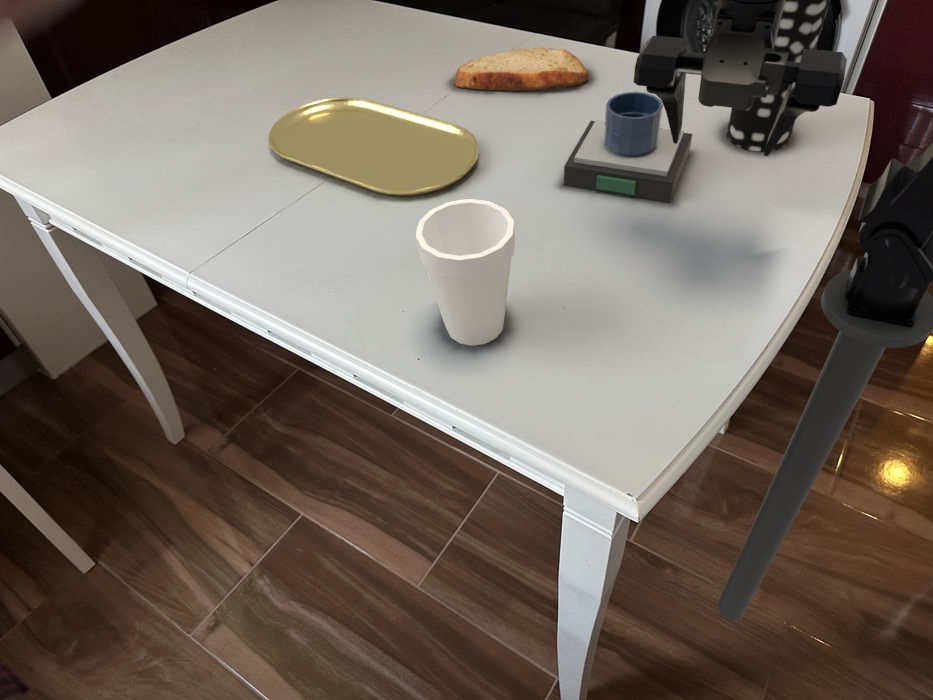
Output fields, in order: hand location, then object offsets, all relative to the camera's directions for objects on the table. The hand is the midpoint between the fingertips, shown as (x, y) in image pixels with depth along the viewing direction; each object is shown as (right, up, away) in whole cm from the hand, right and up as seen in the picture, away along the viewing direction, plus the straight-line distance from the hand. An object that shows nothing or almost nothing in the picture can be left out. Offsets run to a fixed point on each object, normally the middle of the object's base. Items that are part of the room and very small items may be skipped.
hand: (720, 147), depth 72 cm
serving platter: (-41, +8, +29) cm, 51 cm away
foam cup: (-26, -19, +2) cm, 32 cm away
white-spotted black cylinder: (+14, +8, +23) cm, 28 cm away
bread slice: (-18, +23, +40) cm, 50 cm away
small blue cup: (-5, +5, +17) cm, 19 cm away
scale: (-5, +3, +20) cm, 21 cm away
